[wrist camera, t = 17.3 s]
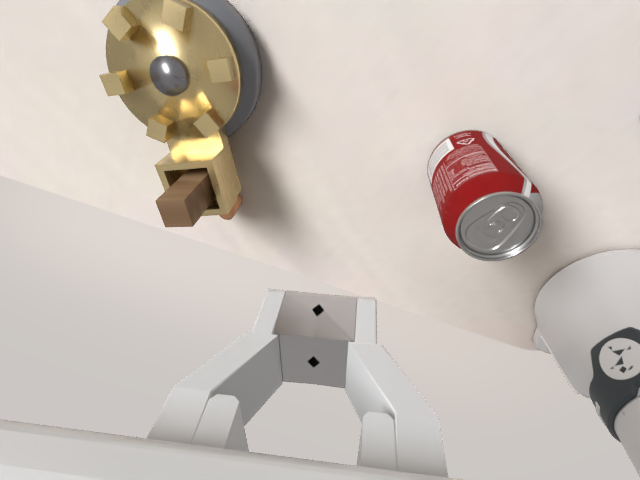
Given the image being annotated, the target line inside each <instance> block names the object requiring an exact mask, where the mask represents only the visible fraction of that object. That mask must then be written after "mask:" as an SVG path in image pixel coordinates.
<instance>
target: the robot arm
mask: <svg viewBox="0 0 640 480" xmlns="http://www.w3.org/2000/svg"><path fill="white" fill-rule="evenodd" d="M376 310H377V309H376V299H375V298H370V297H353V296H340V295H328V294H316V293H307V292H297V291H288V290H287V291H284V290H276V289H269V290H268V291H267V292H266V294H265V297H264V300H263V303H262V305H261V308H260V311H259V314H258V316H257V319H256V322H255V325H254V327H253V330H252V332H246V333H244V334H243V335H241V336H240V337H239V338H238V339H236V340H235V341H234V342H232V343H231V344H230V345H228V346H227V347H226V348H224V349H223V350H222V351H220V352H219V353H218V354H216V355H215V356H214V357H212V358H211V359H210V360H208V361H207V362H206V363H204V364H203V365H202V366H200V367H199V368H198V369H196V370H195V371H194V372H192V373H191V374H190V375H188V376H187V377H186V378H184V379H183V380H182V381H180V382H179V383H178V384H176V385H175V386H174V387H173V388H172V390H171V392H170V394H169V396H168V398H167V400H166V402H165V404H164V406H163V407H162V409H161V411H160V413H159V415H158V417H157V419H156V421H155V423H154V425H153V427H152V429H151V431H150V433H149V435H148V437H147V439H146V438H138V437H130V436H122V435H115V434H108V433H100V432H92V431H84V430H77V429H69V428H62V427H53V426H46V425H39V424H31V423H23V422H16V421H8V420H1V419H0V480H461V479H453V478H448V473H447V467H446V460H445V454H444V448H443V441H442V435H441V428H440V422H439V418H438V417H437V415H436V414H435V413H434V411H433V410H432V409H431V407H430V406H429V405H428V404H427V402H426V401H425V400H424V398H423V397H422V396H421V394H420V393H419V392H418V391H417V389H416V388H415V387H414V385H413V384H412V383H411V381H410V380H409V379H408V378H407V376H406V375H405V374H404V372H403V371H402V370H401V369H400V368H399V366H398V365H397V363H396V362H395V361H394V359H393V358H392V357H391V356H390V354H389V353H388V352H387V350H386V349H385V348H384V346H383V345H377V317H376V316H377V315H376V314H377V311H376ZM534 313H535V318H536V322H537V328H536V330H535V333H534V336H533V343H534V344H535V346H536V347H537V349H539V350H541V351H544V352H546V353H549V354H552V356H553V358H554V360H555V361H556V363H557V365H558V366H559V368H560V370H561V371H562V373H563V374H564V376H565V378H566V380H567V381H568V383H569V385H570V386H571V388H572V389H573V390H574V391H575V392H576V393H577V394H582V395H583V396H585V397H588V398H591V400H592V401H593V404H594V405H595V408H596V411H597V413H598V415H599V417H600V419H601V420H602V422H603V423H604V425H606V427H607V428H608V430H609V431H610V433H611V434H612V436H613V437H614V438H615V439H617V440H618V441H619V442H621V443H622V445H623V447H624V448H625V450H626V452H627V454H628V456H629V458H630V459H631V461H632V463H633V465H634V467H635V468H636V470H637V472H638V474H639V476H640V249H622V250H612V251H607V252H602V253H598V254H594V255H591V256H588V257H586V258H583V259H581V260H578V261H576V262H574V263H572V264H570V265H569V266H567V267H565V268H564V269H562V270H561V271H559V272H558V273H557V274H555V275H554V276H553V277H552V278H551V279H550V280H549V281H548V282H547V283H546V284H545V285H544V286H543V288H542V289H541V291H540V292H539V294H538V296H537V299H536V302H535V307H534ZM282 381H285V382H297V383H308V384H317V385H325V386H332V387H340V388H345V391H346V393H347V395H348V397H349V399H350V401H351V402H352V405H353V407H354V409H355V411H356V413H357V415H358V417H359V419H360V421H361V423H362V429H361V436H360V444H359V452H358V459H357V466H354V465H346V464H338V463H330V462H323V461H314V460H308V459H299V458H292V457H284V456H276V455H269V454H261V453H253V452H249V450H248V444H247V439H246V434H245V429H244V426H245V425H246V424H247V423H248V422H249V420H250V419H251V418H252V417H253V416H254V415H255V414H256V412H257V411H258V410H259V409H260V408H261V407H262V406H263V405H264V404H265V402H266V401H267V400H268V399H269V398H270V397H271V396H272V394H273V393H274V392H275V391H276V390H277V389H278V388H279V387H280V386H281V384H282Z"/></svg>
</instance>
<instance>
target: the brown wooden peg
mask: <svg viewBox="0 0 640 480" xmlns="http://www.w3.org/2000/svg"><path fill="white" fill-rule="evenodd" d="M215 197H216V195H215V192H214V189H213V186H212V183H211V180H210V176H209V173H208V170H207V168H195V169H189V170H188V171H186V172H185V173H184V174H183V175H182V176H181V177H180V178H179V179H178V180H177V181H176V182H175V183H174V184H173V185H172V186H171V187H170V188H169V189H168V190H166V191H165V192H164V193H163V194H162V195H161V196H160V197H159V198H158V199H157V200H156V204H157V206H158V209H159V212H160V214H161V217H162V219H163V222H164V225H165V227H193V226H194V224H195V223H196V222H197V221H198V219H199V218H200V217H201V215H202V214H203V213H204V212H205V210H206V209H207V208H208V206H209V205H210V204H211V203H212V201H213V200H214V199H215Z"/></svg>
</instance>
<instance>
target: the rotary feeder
mask: <svg viewBox="0 0 640 480" xmlns="http://www.w3.org/2000/svg"><path fill="white" fill-rule="evenodd" d="M102 23H103V24H104V25H105V26H106V27H107V28H108V29H109V30H108V34H107V40H106V58H107V65H108V69H109V73H105V74H102V75H99V76H100V78H101V81H102V83H103V85H104V88H105V90H106V92H107V95H108V96H114V95H119V96H120V98H121V99H122V101H123V102H124V103H125V105H126V106H127V108H128V109H129V110H130V111H131V112H132V113H133V114H134V115H135V116H136V117H137V118H138V119H139V120H140V121H141V122H142V123H144V124H145V125H146V126H147V135H146V136H149V137H151V138H153V139H156V140H158V141H160V142H163V143H165V142H167V144H168V146H169V149H170V152H171V153H169V154H168V155H167V156H166V157H164V158H163V159H162V160H161V161H159V162H158V163H157V164H155V167H156V169H157V172H158V174H159V177H160V180H161V182H162V185H163V187H164V190H165V191H166V190H168V189H169V188H170V187H171V186H172V185H173V184H174V183H175V182H176V181H177V180H178V179H179V178H180V177H181V176H182V175H183V174H184V173H185V172H186V171H188V170H189V169H195V168H207V170H208V173H209V176H210V180H211V183H212V186H213V189H214V192H215V195H216V197H215V199H214V200H213V201H212V203H211V204H210V205H209V206H208V208H207V209H206V210H205V212H204V213H203V214H202V215H201V216H209V215H226V214H228V213H229V212H230V210H231V209H232V207H233V206H234V204H235V203H236V201H237V200H238V198H237V196H238V194H239V193H240V191H241V190H242V189H241V185H240V181H239V178H238V174H237V170H236V167H235V163H234V159H233V156H232V152H231V148H230V145H229V141H228V137H227V134H226V130H225V126H224V125H226V124H227V123H228V122H229V121H230V120H231V118H232V117H233V116H234V114H235V112H236V111H237V109H238V107H239V104H240V101H241V97H242V92H243V70H242V64H241V61H240V57H239V54H238V51H237V49H236V46H235V44H234V42H233V40H232V38H231V37H230V35H229V33H228V32H227V30H226V29H225V27H224V26H223V25H222V24H221V23H220V21H219V20H218V19H217V18H216V17H215V16H214V15H213V14H212V13H210V12H209V11H208V10H207V9H205V8H204V7H203V6H201V5H200V4H198V3H196V2H194V1H192V0H130V1H129V2H128V3H126V4H125V5H124V6H113V8H112V9H111V10H110V11H109V13H108V14H107V15H106V17H105V18H104V19H103V21H102Z"/></svg>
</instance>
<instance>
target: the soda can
mask: <svg viewBox="0 0 640 480" xmlns="http://www.w3.org/2000/svg"><path fill="white" fill-rule="evenodd" d="M427 171H428V177H429V181H430V184H431V187H432V191H433V194H434V197H435V201H436V204H437V207H438V211H439V214H440V217H441V221H442V224H443V227H444V231H445V233H446V235H447V236H448V238H449V239H450V240H451V242H452V243H453V244H455V245H456V246H457V247H459V248H461V249H462V250H463V251H464V252H465V253H467V254H468V255H469V256H471V257H473V258H476V259H479V260H483V261H500V260H505V259H509V258H512V257H514V256H516V255H518V254H520V253H522V252H523V251H525V250H526V249H527V248H529V247H530V246H531V245H532V244H533V243H534V241H535V240H536V239H537V237H538V235H539V233H540V231H541V227H542V208H543V206H542V199H541V195H540V193H539V191H538V189H537V188H536V187H535V185H534V184H533V183H532V182H531V181H530V180H529V178H528V177H527V176H526V175H525V174H524V172H523V171H522V170H521V169H520V168H519V166H518V165H517V164H516V163H515V162H514V160H513V159H512V158H511V157H510V156H509V154H508V153H507V152H506V151H505V150H504V148H503V147H502V146H501V145H500V144H499V143H498V141H497V140H496V139H495V138H494V137H492V136H491V135H489V134H488V133H485V132H482V131H478V130H465V131H460V132H457V133H454V134H452V135H450V136H448V137H447V138H445V139H444V140H442V141H441V142H440V143H439V144H438V145H437V146H436V148H435V149H434V150H433V152H432V154H431V156H430V158H429V161H428V167H427Z"/></svg>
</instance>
